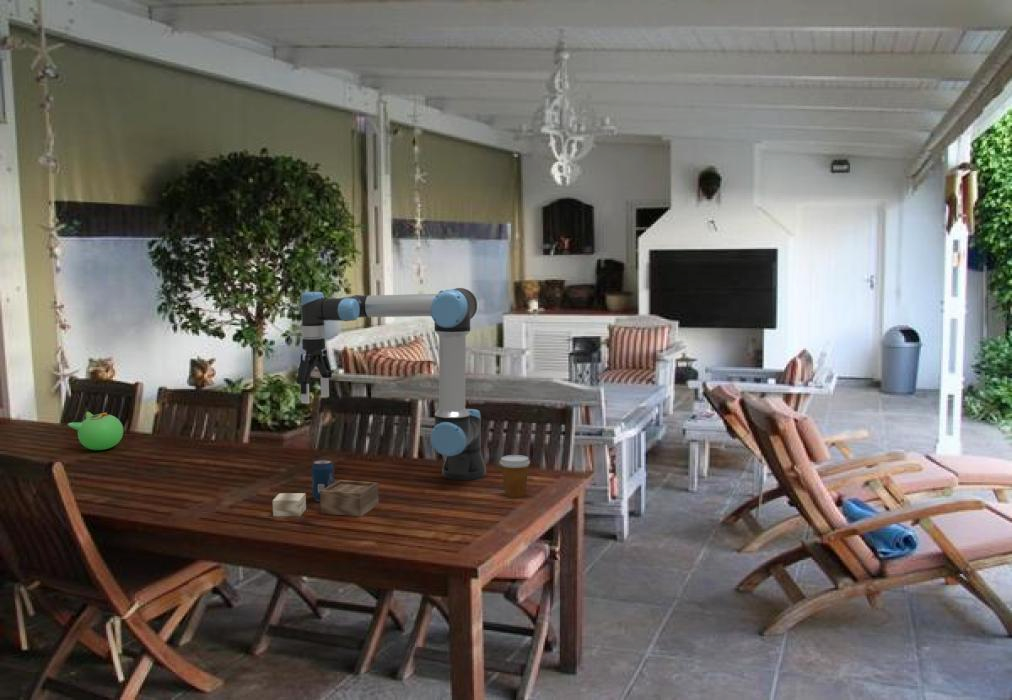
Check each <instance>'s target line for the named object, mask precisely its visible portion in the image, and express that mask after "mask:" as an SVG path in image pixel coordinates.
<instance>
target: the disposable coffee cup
mask: <svg viewBox="0 0 1012 700" xmlns="http://www.w3.org/2000/svg"><path fill="white" fill-rule="evenodd" d="M499 463H500V466H501V471H502V480H503V486H504V495H505V496H506V497H507V498H508V497H509V498H523V497H525V495H526V490H527V481H528V472H529V466H530V463H531V461H530V459H529V457H528V456H526V455H520V454H510V455H509V454H508V455H504V456H502V457H501V459H500V461H499Z"/></svg>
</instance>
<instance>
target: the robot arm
mask: <svg viewBox="0 0 1012 700" xmlns="http://www.w3.org/2000/svg"><path fill="white" fill-rule="evenodd" d="M300 297H301V298H300V302H301V303H300V309H301V311H300V312H301V337H302V340H301V346H302V347H301V348H302V349H303V350H304V351H305V354H304V353H301V354H300V363H299V366H298V371H297V372H298V373H297V376H296V380H295V382H296V384H297V385H300V403H301V404H307V405H309V404H310V402H311V401H310V383H309V380H310V377H311V374H312V371H313V369H314V368H315V367H317V370H318V372H319V375H320V376H321V377H320V397H322V398H323V397H324V398H330V382H329V380H330V379H329V378H332V377H333V371H332V368H331V363H330V360H329V357H328V351H327V349H326V340H325V338H324V337H326V333H325V321H326V322H327V321H333V322H334V321H336V322H338V321H340V322H341V321H342V322H354V321H356V320H357V319H358V318H392V317H393V318H397V317H398V318H399V317H401V318H402V317H404V318H405V317H407V318H408V317H431V318H432V320H433V322H434V332H435V334H436V335H437V336H438V341H439V342H438V361H439V362H438V370H439V371H438V373H439V374H438V409H437V410H436V411H435V412H434V426H433V428H432V429H431V432H430V439H429V440H430V443H431V446H432V448H433V449H434V450H435V451H436V452H437V453H438V454H440V455H442V456H445V459H444V462H443V466H442V469H441V471H442V474H441V475H442V477H444V478H446V479H449V480H459V481H463V480H464V481H469V480H477V479H480V478H484V477H485V476H486V475H487V467H486V464H485V460H484V458H483V455H482V435H481V434H482V433H481V432H482V428H481V427H482V426H481V424H482V423H481V421H482V418H481V417H482V416H481V412H480V410H478V409H474V408H466V352H467V351H466V342H467V341H466V337H467V335H468V334H469V333H470V332H471V319H473V317H475V316H476V313H477V310H478V301H477V298H476V296H475V294H474V293H473V292H471V290H469V289H466V288H463V287H457V288H451V289H446V290H439V291H438V292H437V293H422V294H421V293H420V294H419V293H418V294H380V295H379V294H378V295H377V294H374V295H361V294H354V295H351V296H345V297H335V298H334V297H332V298H331V297H330V298H327V297H325V295H324V293H323V292H321V291H305V292H302V293H301V295H300Z"/></svg>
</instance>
